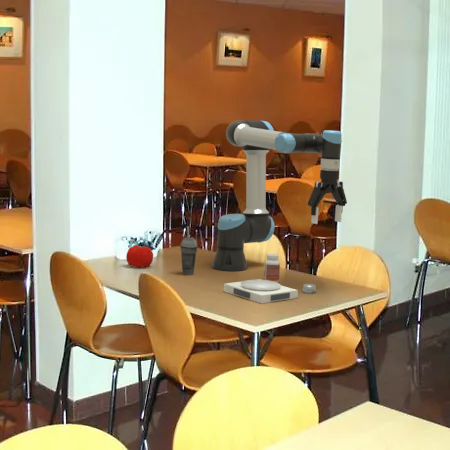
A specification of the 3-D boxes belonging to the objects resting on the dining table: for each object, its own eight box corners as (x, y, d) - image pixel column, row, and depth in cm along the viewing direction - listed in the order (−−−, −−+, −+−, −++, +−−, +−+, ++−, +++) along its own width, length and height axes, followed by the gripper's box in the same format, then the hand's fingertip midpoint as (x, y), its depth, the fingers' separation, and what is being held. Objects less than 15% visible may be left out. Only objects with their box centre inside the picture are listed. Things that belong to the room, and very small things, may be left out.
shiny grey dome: (299, 292, 321) (300, 284, 321) (309, 290, 324) (309, 283, 324) (308, 294, 317) (309, 287, 317) (318, 293, 320) (318, 285, 320)
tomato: (157, 267, 355) (158, 247, 354) (132, 270, 349) (133, 249, 347) (145, 263, 364) (146, 243, 363) (121, 265, 357) (121, 244, 356)
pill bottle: (282, 282, 337) (283, 255, 335) (270, 283, 333) (271, 256, 332) (273, 279, 342) (274, 253, 340) (261, 280, 338) (262, 254, 337)
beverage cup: (186, 276, 340) (188, 228, 338) (175, 273, 346) (177, 226, 343) (200, 274, 345) (202, 227, 342) (189, 271, 351) (191, 224, 348)
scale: (222, 291, 315) (223, 280, 315) (259, 286, 327) (259, 276, 326) (261, 303, 298) (261, 292, 297) (298, 298, 310) (298, 287, 309)
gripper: (314, 171, 316) (311, 225, 319) (358, 170, 331) (354, 222, 335) (300, 169, 321) (297, 222, 324) (344, 168, 337) (340, 219, 340)
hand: (326, 222), depth 330 cm, fingers open, 13 cm apart
